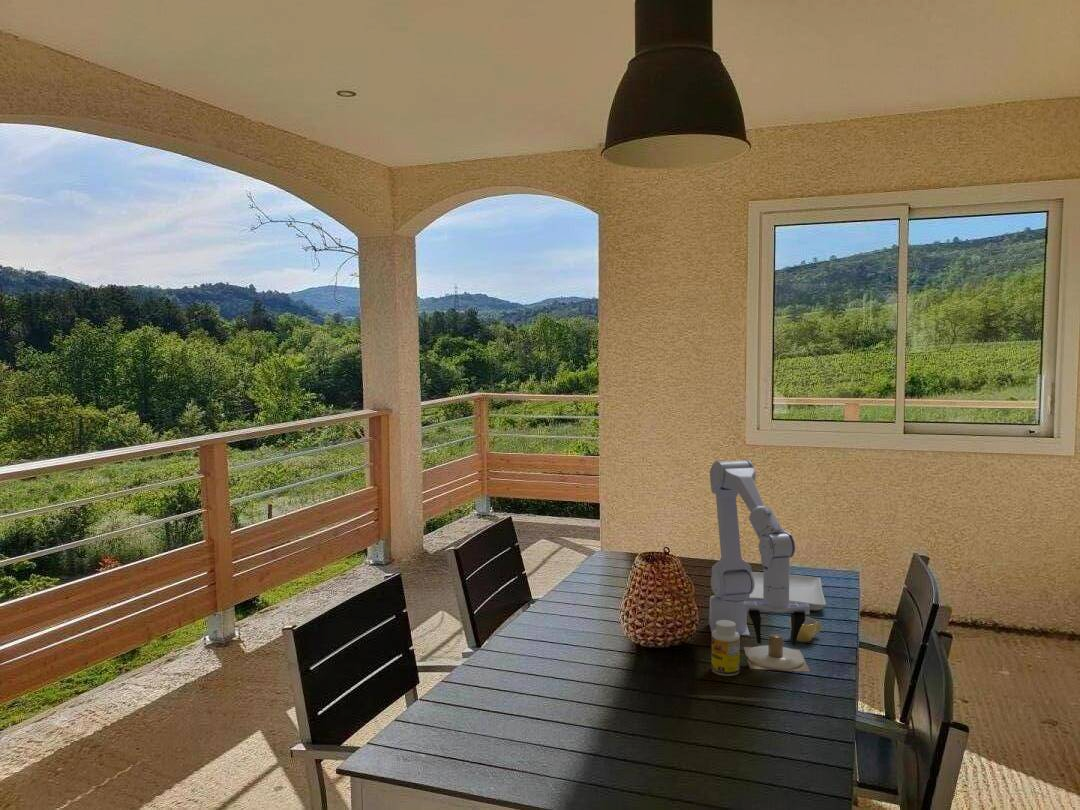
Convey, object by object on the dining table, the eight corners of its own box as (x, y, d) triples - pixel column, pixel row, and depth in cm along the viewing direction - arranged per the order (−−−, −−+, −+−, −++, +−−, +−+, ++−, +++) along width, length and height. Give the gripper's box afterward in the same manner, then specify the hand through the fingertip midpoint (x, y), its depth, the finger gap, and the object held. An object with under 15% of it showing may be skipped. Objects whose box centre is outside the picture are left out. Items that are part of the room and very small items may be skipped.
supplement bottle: (706, 669, 174) (706, 620, 173) (730, 665, 175) (730, 617, 175) (720, 679, 168) (720, 629, 167) (745, 676, 170) (745, 626, 169)
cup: (796, 653, 183) (796, 631, 183) (768, 635, 195) (768, 615, 194) (839, 647, 186) (839, 626, 186) (809, 631, 198) (809, 610, 197)
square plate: (724, 608, 217) (724, 594, 217) (729, 581, 243) (729, 569, 243) (826, 616, 209) (826, 602, 209) (820, 587, 235) (820, 575, 235)
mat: (749, 671, 172) (749, 668, 172) (743, 649, 185) (743, 646, 185) (810, 674, 170) (810, 671, 170) (799, 652, 183) (799, 649, 183)
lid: (750, 668, 172) (751, 644, 172) (744, 647, 185) (744, 625, 184) (808, 671, 170) (809, 647, 170) (798, 650, 183) (798, 628, 183)
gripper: (745, 589, 174) (745, 647, 174) (812, 591, 172) (811, 650, 172) (742, 580, 181) (742, 636, 181) (806, 582, 178) (805, 639, 179)
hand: (775, 643), depth 177 cm, fingers open, 7 cm apart
